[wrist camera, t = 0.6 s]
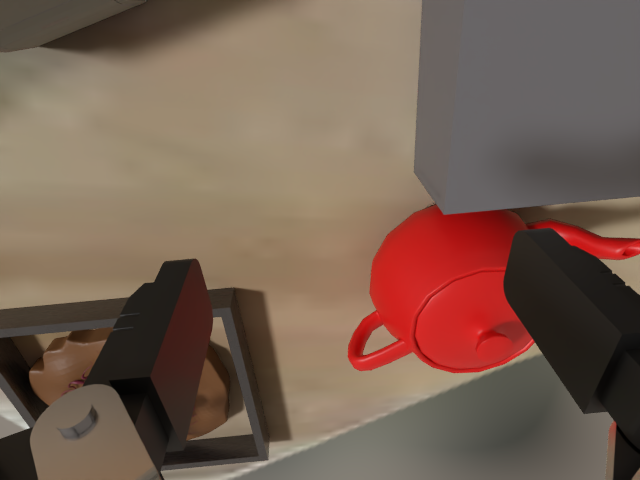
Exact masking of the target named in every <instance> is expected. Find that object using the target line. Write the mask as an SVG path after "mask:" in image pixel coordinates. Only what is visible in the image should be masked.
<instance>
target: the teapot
mask: <svg viewBox="0 0 640 480" xmlns="http://www.w3.org/2000/svg"><path fill="white" fill-rule="evenodd" d="M541 228H552V229H554V230H555V231H556V232H557V233H558V234H559V235H561V236H562V237H563V238H564V239H565V240H566V241H567V242H568V243H569V244H570V245H571V246H576V247H578V248H580V249H582V250H584V251H586V252H588V253H590V254H592V255H594V256H596V257H597V258H598V259H611V260H622V259H627V258H630V257H633V256H636V255H639V254H640V239H636V238H609V237H601V236H599V235H596V234H594V233H592V232H590V231H587V230H585V229H583V228H580V227H578V226H575V225H572V224H568V223H564V222H560V221H557V220H553V219H546V220H542V221H537V222H533V223H528V224H525V223H524V222H523V221H522V219H521V218H520V217H519V215H518V214H517V213H514V212H512V211H509V210H507V209H500V210H489V211H479V212H468V213H457V214H447V215H444V214H443V213H442V211H441V210H440V209H439V207H438V206H437V204H436V205H433V206H431V207H428V208H425V209H423V210H420V211H417V212H415V213H413V214H412V215H411V216H410V217H408V218H407V219H406V220H405V221H403V222H402V223H401V224H400V225H399V226H397V227H396V228H395V229H394V230H392V231H391V232H390V233H389V234H388V235H387V236H386V238H385V240H384V241H383V243H382V245H381V247H380V248H379V250H378V252H377V254H376V255H375V257H374V259H373V262H372V270H371V281H370V296H371V299H372V301H373V304H374V306H375V308H376V311H374V312H373V313H371V314H370V315H368V316H367V317H365V318H364V319H363V320H362V321H361V323H360V324H359V326H358V327H357V329H356V330H355V332H354V333H353V336H352V338H351V340H350V343H349V345H348V358H349V361H350V362H351V364H352V365H353V367H354V368H355V369H357V370H359V371H367V370H373V369H375V368H378V367H381V366H383V365H386V364H388V363H391V362H393V361H395V360H397V359H399V358H401V357H403V356H405V355H407V354H409V353H412V352H413V353H415V354H416V355H417V357H418V358H419V359H420V360H422V361H423V362H425V363H426V364H428V365H429V366H431V367H433V368H436V369H440V370H444V371H448V372H451V373H470V372H481V371H484V370H487V369H490V368H494V367H497V366H500V365H503V364H505V363H507V362H509V361H510V360H512V359H514V358H515V357H517V356H519V355H520V354H522V353H524V352H525V351H527V350H528V349H529V348H530V347H531V346H532V345H533V344H534V343H535V342H534V340H533V339H532V337H531V336H530V334H529V333H528V331H527V330H526V328H525V327H524V325H523V324H522V322H521V321H520V320H519V318H518V317H517V315H516V314H515V312H514V311H513V309H512V308H511V306H510V305H509V303H508V302H507V300H506V297H505V294H504V288H503V280H504V275H505V271H506V266H507V262H508V258H509V253H510V249H511V245H512V240H513V237H514V235H515V233H516V232H517V231H519V230H530V229H541ZM381 325H384V326H385V327H386V328H387V330H388V331H389V332H390V333H391V334H392V335H393V336H394V337H395V338H396V339H398V341H396V342H394V343H392V344H390V345H388V346H386V347H384V348H382V349H380V350H378V351H375V352H373V353H370V354H368V355H363V350H364V347H365V344H366V342H367V340H368V338H369V336H370V335H371V333H372V331H373V330H375V329H376V328H378V327H380V326H381Z"/></svg>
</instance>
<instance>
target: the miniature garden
mask: <svg viewBox="0 0 640 480" xmlns="http://www.w3.org/2000/svg"><path fill="white" fill-rule="evenodd" d="M111 332H113V327H108V328H99V329H95V330H76V331H71V333H70V334H69V336H66V337H61V338H56V339H54V340H53V341H52V343H51V344H50V345H49V347H48V348H47V350H46V351H45V352H44V354H43V357H42V358H39V359H38V360H37V361H36V363H35V364H34V365H33V367H32V368H31V369H30V371H29V381H30V385H31V388H32V390H33V391H34V393H35V394H36V395H37V396H38V397H39V398H40V399H42V400H43V401H44V402H45V403H46V404H47V405H49V406H50V405H51V404H52V403H53V402H55V401H56V400H57V399H59V398H60V397H62V396H63V395H65V394H67V393H69V392H71V391H73V390H75V389H77V388H80V387H82V386H83V384H84V382H85V380H86V379H87V377H88V375H89V373H90V371H91V369H92V367H93V365H94V363H95V361H96V359H97V358H98V356H99V354H100V352H101V350H102V348H103V346H104V344H105V342H106V340H107V338H108V336H109V335H110V333H111ZM229 390H230V378H229V374H228V372H227V370H226V368H225V367H224V365H223V364H222V362H221V361H220V359H219V357H218V355H217V354H216V352H215V350H214V349H213V348H212V347H211V346H209V345H208V349H207V353H206V357H205V362H204V366H203V370H202V375H201V379H200V383H199V388H198V392H197V396H196V401H195V405H194V409H193V413H192V418H191V422H190V426H189V431H188V435H187V439H186V441H187V440H190V439H192V438H196V437H199V436H202V435H204V434H207V433H209V432H211V431H212V430H214V429H216V428H217V427H219V426H221V425H222V424H224V423H225V422H226V421H227V418H228V412H229V399H228V395H229Z"/></svg>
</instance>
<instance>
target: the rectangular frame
mask: <svg viewBox="0 0 640 480" xmlns="http://www.w3.org/2000/svg"><path fill="white" fill-rule="evenodd" d="M207 291H208V295H209V298H210V302H211V305H212V312H213V317H222V320H223V324H224V328H225V331H226V335H227V339H228V343H229V346H230V350H231V354H232V358H233V361H234V365H235V369H236V372H237V376H238V380H239V384H240V387H241V391H242V395H243V398H244V402H245V406H246V410H247V413H248V417H249V421H250V424H251V428H252V432H253V435H244V436H234V437H223V438H213V439H203V440H193V441H186V444H185V448H184V451H173V452H166V453H165V456H164V460H163V464H162V467H161V471H163V470H173V469H183V468H193V467H203V466H214V465H224V464H234V463H244V462H254V461H264V460H268V455H269V433H268V429H267V425H266V421H265V416H264V412H263V408H262V404H261V399H260V395H259V391H258V387H257V382H256V378H255V374H254V370H253V365H252V361H251V357H250V353H249V348H248V344H247V340H246V336H245V331H244V327H243V323H242V319H241V314H240V310H239V306H238V302H237V297H236V293H235V289H234V288H225V289H215V290H207ZM127 300H128V298H120V299H109V300H99V301H88V302H78V303H67V304H56V305H46V306H35V307H25V308H14V309H4V310H0V388H1V389H2V390H3V392H4V393H5V395H6V396H7V397H8V399H9V400H10V401H11V403H12V404H13V405H14V407H15V408H16V409H17V411H18V412H19V413H20V415H21V416H22V418H23V419H24V420H25V422H26V423H27V424H28V426H29V427H30V428H31V427H34V425H35V423H36V421H37V420H38V418H39V417H40V416H41V414H42V413H43V412H44V411H45V410H46V409H47V408H48V407H49V405H47V404H46V403H45V402H44V401H43V400H42V399H40V398H39V397H38V396H37V395H36V394H35V393H34V391H33V390H32V388H31V385H30V381H29V371H30V368H29V366H28V365H27V363H26V361H25V360H24V358H23V357H22V355H21V354H20V352H19V351H18V349H17V348H16V346H15V345H14V343H13V342H12V340H11V339H10V337H13V336H24V335H34V334H45V333H55V332H66V331H76V330H87V329H97V328H108V327H114V325H115V323H116V321H117V319H118V318H120V314H121V312H122V310H123V308H124V306H125V304H126V302H127Z"/></svg>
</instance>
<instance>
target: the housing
mask: <svg viewBox="0 0 640 480" xmlns="http://www.w3.org/2000/svg"><path fill="white" fill-rule="evenodd" d="M414 173H415V175H416V176H417V177H418V179H419V180H420V182H421V183H422V184H423V186H424V187H425V189H426V190H427V192H428V193H429V194H430V196H431V197H432V199H433V200H434V201H435V203H436V204H437V206H438V207H439V209H440V210H441V211H442V213H443V214H444V215H447V214H457V213H468V212H479V211H489V210H500V209H511V208H522V207H532V206H543V205H554V204H564V203H575V202H586V201H597V200H607V199H618V198H629V197H639V196H640V0H422V20H421V40H420V60H419V80H418V100H417V120H416V140H415V160H414Z"/></svg>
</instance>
